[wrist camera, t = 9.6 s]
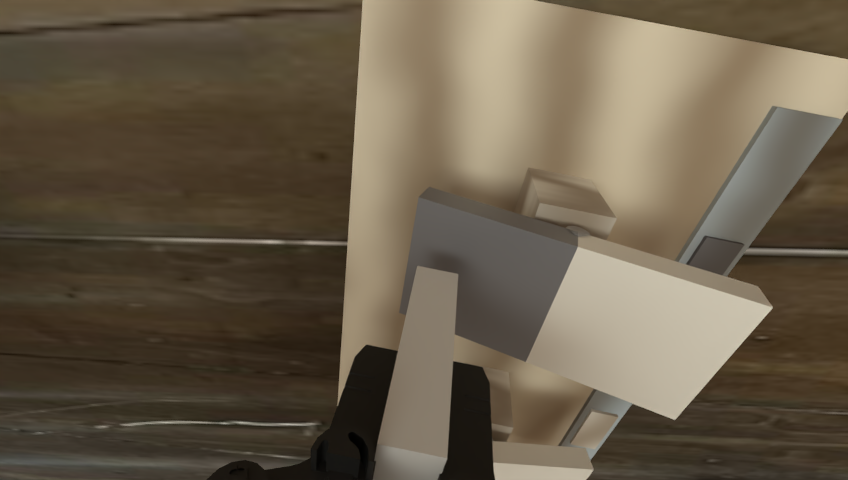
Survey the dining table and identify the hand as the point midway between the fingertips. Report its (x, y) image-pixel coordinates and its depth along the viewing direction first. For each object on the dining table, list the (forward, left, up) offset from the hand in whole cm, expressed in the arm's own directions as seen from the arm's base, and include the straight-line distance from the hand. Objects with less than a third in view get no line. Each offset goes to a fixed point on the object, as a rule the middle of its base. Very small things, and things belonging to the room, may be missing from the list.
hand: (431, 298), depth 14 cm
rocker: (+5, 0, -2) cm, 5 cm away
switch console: (+5, -7, -9) cm, 12 cm away
